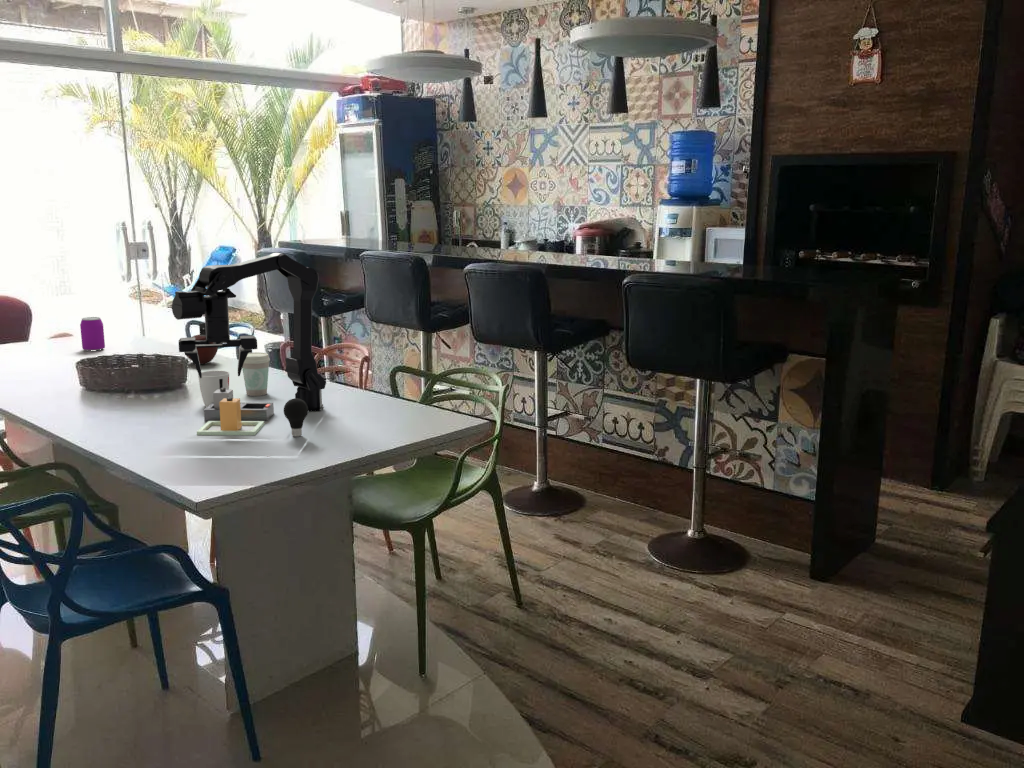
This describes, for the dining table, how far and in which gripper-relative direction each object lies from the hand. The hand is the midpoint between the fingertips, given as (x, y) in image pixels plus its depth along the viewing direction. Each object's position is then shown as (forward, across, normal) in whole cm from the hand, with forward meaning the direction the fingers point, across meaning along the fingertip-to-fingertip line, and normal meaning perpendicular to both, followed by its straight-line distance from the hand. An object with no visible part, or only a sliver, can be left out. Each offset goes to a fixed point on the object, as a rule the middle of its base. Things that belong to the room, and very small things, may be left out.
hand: (220, 376), depth 218 cm
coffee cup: (+13, -11, -34) cm, 38 cm away
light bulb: (+13, -17, +17) cm, 27 cm away
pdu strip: (+13, -4, -4) cm, 14 cm away
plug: (+12, -2, +8) cm, 15 cm away
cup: (+13, +1, -19) cm, 23 cm away
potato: (+13, +4, -87) cm, 88 cm away
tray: (+13, -2, +8) cm, 15 cm away
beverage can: (+13, +42, -124) cm, 131 cm away
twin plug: (+12, -1, -5) cm, 13 cm away
